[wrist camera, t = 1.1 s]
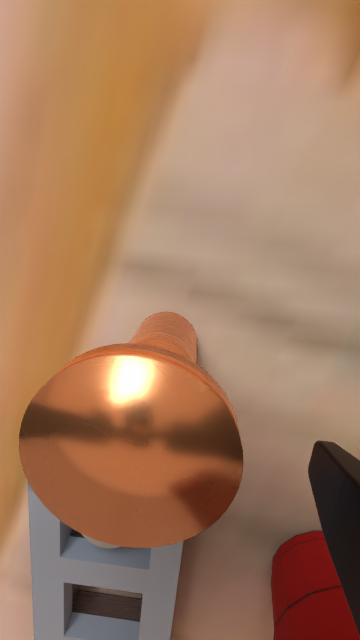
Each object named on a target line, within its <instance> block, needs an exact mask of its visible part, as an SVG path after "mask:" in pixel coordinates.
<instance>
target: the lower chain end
mask: <svg viewBox="0 0 360 640" xmlns="http://www.w3.org/2000/svg"><path fill="white" fill-rule="evenodd" d="M69 536H73V537H80V538H85V537H84V536H83V535H82V534H81V533H79V532H78V531H76V530H74V529H72V531H71V533H70V535H69ZM141 608H142V599H136V598H129V597H122V596H115V595H108V594H101V593H94V592H87V591H81V590H79V584H72V612H76V613H83V614H89V615H96V616H103V617H110V618H117V619H123V620H130V621H137V622H140V618H141Z"/></svg>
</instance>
